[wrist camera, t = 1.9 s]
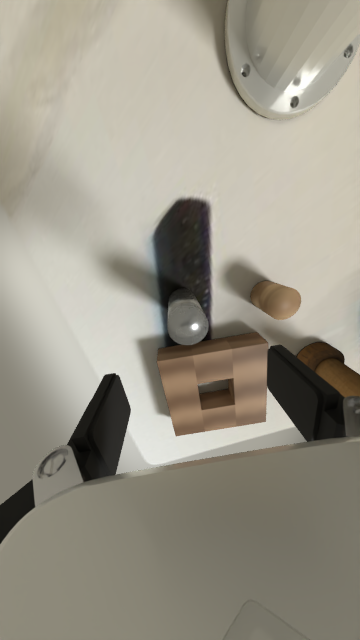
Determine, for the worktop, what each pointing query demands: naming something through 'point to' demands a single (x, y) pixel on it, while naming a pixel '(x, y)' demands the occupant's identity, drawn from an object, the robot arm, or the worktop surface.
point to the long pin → (186, 318)
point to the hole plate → (213, 365)
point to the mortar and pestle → (331, 367)
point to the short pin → (276, 299)
